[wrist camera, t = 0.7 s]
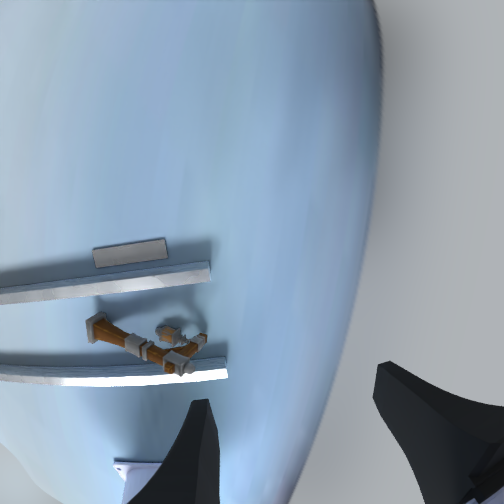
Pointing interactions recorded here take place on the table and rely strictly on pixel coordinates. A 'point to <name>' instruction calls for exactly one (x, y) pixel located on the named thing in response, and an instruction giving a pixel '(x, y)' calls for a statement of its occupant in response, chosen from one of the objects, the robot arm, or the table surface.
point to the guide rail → (109, 285)
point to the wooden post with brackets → (149, 344)
